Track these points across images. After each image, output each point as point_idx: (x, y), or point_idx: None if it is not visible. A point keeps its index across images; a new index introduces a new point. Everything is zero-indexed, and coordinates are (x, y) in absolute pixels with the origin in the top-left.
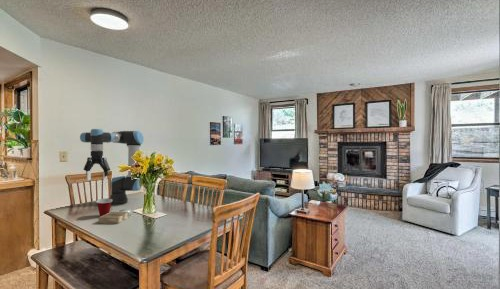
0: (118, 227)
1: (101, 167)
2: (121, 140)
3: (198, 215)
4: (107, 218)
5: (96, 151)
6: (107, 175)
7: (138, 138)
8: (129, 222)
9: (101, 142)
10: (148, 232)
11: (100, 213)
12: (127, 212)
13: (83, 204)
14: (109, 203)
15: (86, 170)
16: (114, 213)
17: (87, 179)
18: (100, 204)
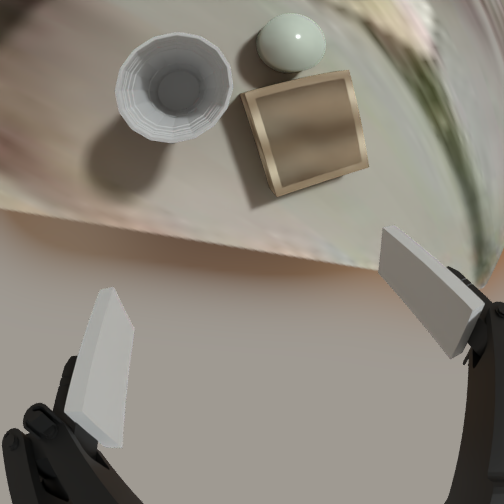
0: (383, 193)
1: (463, 429)
2: None
3: (500, 29)
4: (320, 180)
5: None
6: (454, 269)
7: None
8: (383, 131)
9: None
10: (469, 197)
11: (179, 115)
12: (342, 74)
13: None
14: (222, 79)
15: (97, 459)
16: (292, 109)
17: (130, 338)
18: (192, 130)
